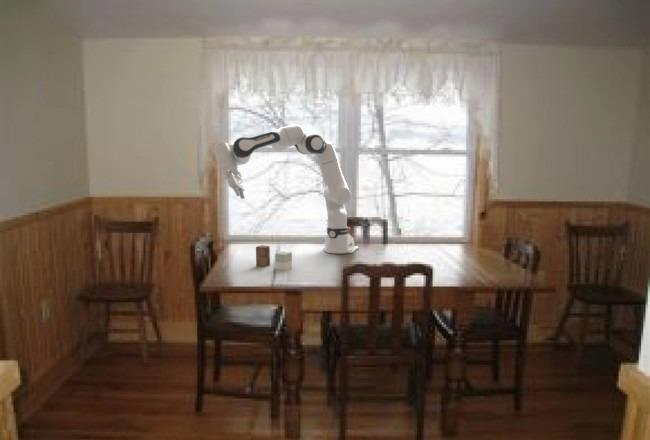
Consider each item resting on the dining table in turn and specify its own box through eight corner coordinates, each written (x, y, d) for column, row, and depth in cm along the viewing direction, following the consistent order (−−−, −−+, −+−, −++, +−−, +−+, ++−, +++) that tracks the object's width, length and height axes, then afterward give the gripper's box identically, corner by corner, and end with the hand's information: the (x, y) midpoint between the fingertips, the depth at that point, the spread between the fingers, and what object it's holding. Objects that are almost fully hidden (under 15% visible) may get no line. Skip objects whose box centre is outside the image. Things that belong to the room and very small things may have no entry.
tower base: (282, 266, 280) (282, 259, 279) (291, 267, 277) (291, 260, 276) (275, 269, 275) (275, 261, 274) (285, 270, 272) (285, 262, 271)
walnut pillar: (262, 264, 286) (261, 245, 284) (269, 265, 283) (269, 246, 282) (256, 265, 282) (255, 246, 280) (264, 267, 279) (263, 247, 278)
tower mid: (282, 259, 279) (281, 251, 279) (291, 260, 276) (291, 252, 276) (275, 261, 274) (275, 253, 274) (285, 262, 271) (285, 254, 271)
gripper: (231, 166, 272) (241, 191, 270) (241, 174, 292) (250, 197, 290) (220, 171, 272) (230, 196, 270) (230, 179, 292) (240, 202, 290)
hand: (241, 197), depth 280 cm, fingers open, 8 cm apart
